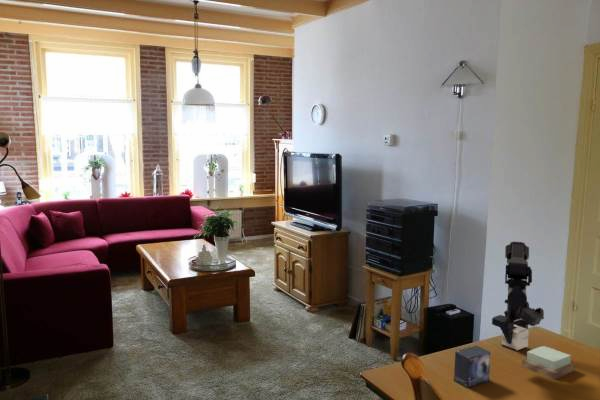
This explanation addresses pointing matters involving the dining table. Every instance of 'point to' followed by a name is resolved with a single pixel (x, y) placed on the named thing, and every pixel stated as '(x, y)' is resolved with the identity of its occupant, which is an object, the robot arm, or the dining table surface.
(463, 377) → the small box
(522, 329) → the cream cube
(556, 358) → the sage slab
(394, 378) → the dining table surface
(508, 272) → the robot arm
